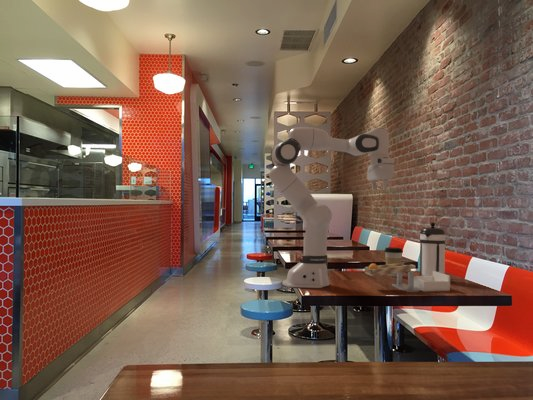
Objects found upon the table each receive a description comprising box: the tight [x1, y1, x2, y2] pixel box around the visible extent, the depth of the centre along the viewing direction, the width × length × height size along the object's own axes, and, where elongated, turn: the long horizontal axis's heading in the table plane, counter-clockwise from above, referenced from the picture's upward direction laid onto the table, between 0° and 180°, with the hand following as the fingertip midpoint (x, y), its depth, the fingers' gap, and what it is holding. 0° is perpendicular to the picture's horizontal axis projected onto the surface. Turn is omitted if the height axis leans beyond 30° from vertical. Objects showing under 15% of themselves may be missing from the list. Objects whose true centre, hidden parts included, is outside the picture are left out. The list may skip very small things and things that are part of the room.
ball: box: [368, 263, 379, 269], centre depth 191 cm, size 4×4×4 cm
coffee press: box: [418, 222, 447, 276], centre depth 219 cm, size 17×16×30 cm
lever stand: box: [391, 271, 420, 293], centre depth 194 cm, size 6×15×8 cm, turn 8°
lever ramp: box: [364, 261, 416, 277], centre depth 197 cm, size 25×16×4 cm, turn 98°
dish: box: [414, 271, 451, 292], centre depth 195 cm, size 13×14×7 cm
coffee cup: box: [384, 247, 404, 278], centre depth 229 cm, size 10×10×15 cm
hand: (379, 189), depth 204 cm, fingers open, 8 cm apart
